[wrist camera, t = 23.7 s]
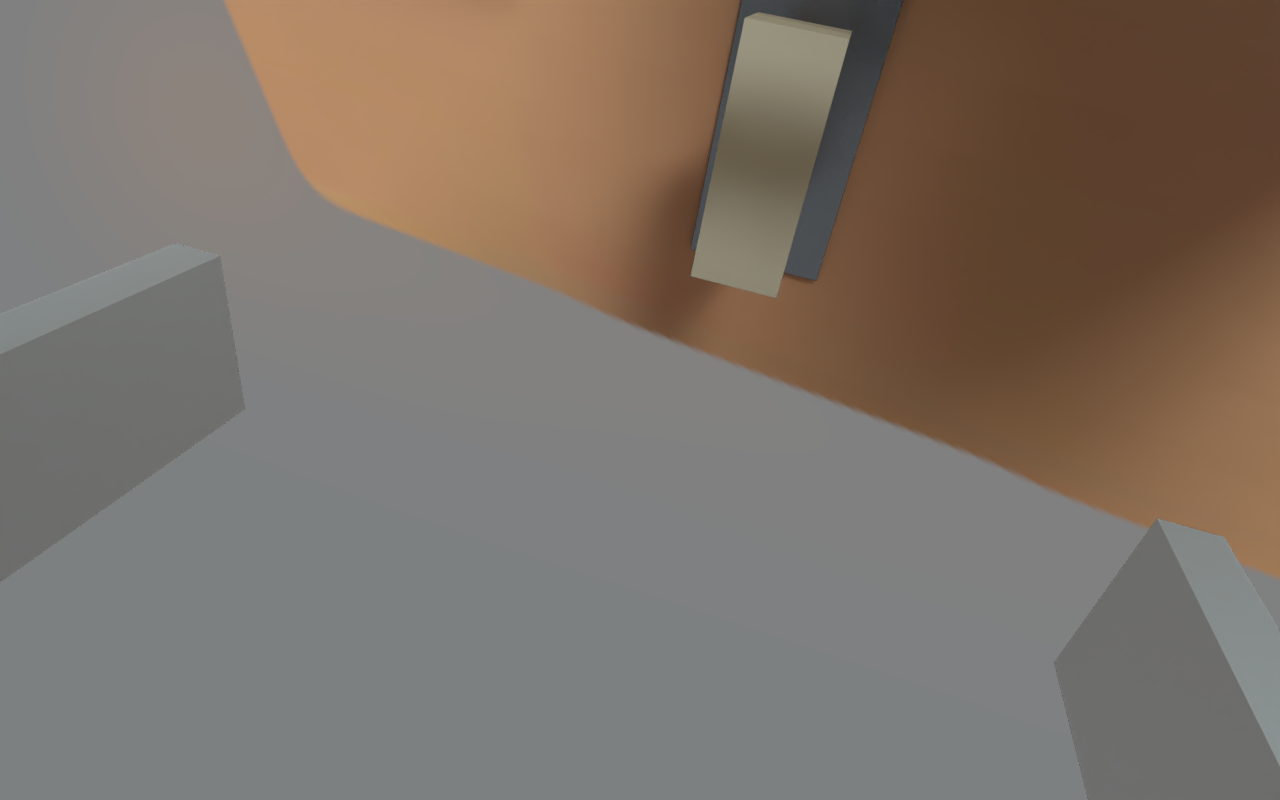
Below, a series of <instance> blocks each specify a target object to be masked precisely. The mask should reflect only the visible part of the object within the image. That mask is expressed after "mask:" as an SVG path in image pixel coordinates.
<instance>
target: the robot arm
mask: <svg viewBox="0 0 1280 800" xmlns="http://www.w3.org/2000/svg"><path fill="white" fill-rule="evenodd" d="M243 410H245V405H244V398H243V392H242V386H241V380H240V374H239V368H238V362H237V356H236V349H235V344H234V338H233V331H232V325H231V319H230V313H229V307H228V301H227V294H226V289H225V282H224V276H223V270H222V264H221V259H220V256H219V255H216V254H212V253H209V252H205V251H201V250H198V249H194V248H191V247H187V246H184V245H180V244H176V243H175V244H173V245H170V246H168V247H165V248H163V249H160V250H158V251H155V252H153V253H150V254H148V255H145V256H143V257H140V258H138V259H135V260H133V261H130V262H128V263H125V264H123V265H120V266H118V267H115V268H113V269H110V270H108V271H106V272H103V273H101V274H98V275H95V276H93V277H90V278H88V279H85V280H83V281H81V282H78V283H76V284H73V285H71V286H68V287H66V288H63V289H61V290H58V291H56V292H53V293H51V294H48V295H46V296H43V297H41V298H38V299H36V300H33V301H31V302H28V303H26V304H23V305H21V306H18V307H16V308H13V309H11V310H9V311H6V312H3V313H1V314H0V582H1V581H3V580H4V579H6V578H7V577H8V576H10V575H11V574H13V573H14V572H15V571H17V570H18V569H20V568H21V567H22V566H24V565H25V564H27V563H28V562H30V561H31V560H33V559H34V558H35V557H37V556H38V555H40V554H41V553H42V552H44V551H45V550H47V549H48V548H49V547H51V546H52V545H53V544H55V543H57V542H58V541H59V540H61V539H62V538H64V537H65V536H66V535H68V534H69V533H71V532H72V531H74V530H75V529H76V528H78V527H79V526H81V525H82V524H83V523H85V522H86V521H88V520H89V519H91V518H92V517H93V516H95V515H96V514H98V513H99V512H100V511H102V510H103V509H105V508H106V507H107V506H109V505H110V504H112V503H113V502H115V501H116V500H117V499H119V498H120V497H121V496H123V495H124V494H126V493H127V492H129V491H130V490H132V489H133V488H134V487H136V486H137V485H139V484H140V483H141V482H143V481H144V480H146V479H147V478H149V477H150V476H151V475H153V474H154V473H156V472H157V471H158V470H160V469H161V468H163V467H164V466H165V465H167V464H168V463H170V462H171V461H173V460H174V459H175V458H177V457H178V456H180V455H181V454H182V453H184V452H185V451H187V450H188V449H190V448H191V447H192V446H194V445H195V444H196V443H198V442H199V441H201V440H202V439H204V438H205V437H207V436H208V435H209V434H211V433H212V432H214V431H215V430H216V429H218V428H219V427H221V426H222V425H223V424H225V423H226V422H228V421H229V420H230V419H232V418H233V417H235V416H236V415H238V414H239V413H240V412H242V411H243ZM1054 664H1055V668H1056V672H1057V677H1058V681H1059V685H1060V689H1061V693H1062V697H1063V701H1064V705H1065V708H1066V713H1067V717H1068V721H1069V725H1070V729H1071V733H1072V737H1073V741H1074V745H1075V750H1076V753H1077V758H1078V762H1079V766H1080V770H1081V774H1082V778H1083V782H1084V786H1085V790H1086V794H1087V798H1088V800H1280V630H1279V628H1278V627H1277V625H1276V623H1275V622H1274V620H1273V618H1272V617H1271V615H1270V613H1269V612H1268V610H1267V608H1266V606H1265V605H1264V603H1263V601H1262V600H1261V598H1260V597H1259V595H1258V593H1257V591H1256V590H1255V588H1254V586H1253V585H1252V583H1251V581H1250V580H1249V578H1248V576H1247V575H1246V573H1245V571H1244V569H1243V568H1242V566H1241V564H1240V563H1239V561H1238V559H1237V558H1236V556H1235V554H1234V553H1233V551H1232V549H1231V548H1230V546H1229V544H1228V543H1227V541H1226V539H1225V538H1224V537H1222V536H1218V535H1215V534H1211V533H1208V532H1204V531H1200V530H1197V529H1193V528H1190V527H1186V526H1183V525H1179V524H1175V523H1172V522H1168V521H1165V520H1161V519H1158V518H1157V519H1156V521H1155V522H1154V523H1153V525H1152V526H1151V528H1150V529H1149V530H1148V532H1147V533H1146V535H1145V536H1144V538H1143V539H1142V540H1141V542H1140V543H1139V544H1138V546H1137V547H1136V549H1135V550H1134V552H1133V553H1132V554H1131V556H1130V557H1129V558H1128V560H1127V561H1126V563H1125V564H1124V566H1123V567H1122V568H1121V570H1120V571H1119V573H1118V574H1117V575H1116V577H1115V578H1114V580H1113V581H1112V582H1111V584H1110V585H1109V586H1108V588H1107V589H1106V591H1105V592H1104V593H1103V595H1102V596H1101V598H1100V599H1099V600H1098V602H1097V603H1096V605H1095V606H1094V607H1093V609H1092V610H1091V612H1090V613H1089V615H1088V616H1087V617H1086V619H1085V620H1084V621H1083V623H1082V624H1081V626H1080V627H1079V629H1078V630H1077V631H1076V633H1075V634H1074V636H1073V637H1072V638H1071V640H1070V641H1069V642H1068V644H1067V645H1066V647H1065V648H1064V650H1063V651H1062V652H1061V654H1060V655H1059V657H1058V658H1057V659H1056V661H1055V662H1054Z"/></svg>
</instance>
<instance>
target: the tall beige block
mask: <svg viewBox="0 0 1280 800" xmlns="http://www.w3.org/2000/svg"><path fill="white" fill-rule="evenodd" d="M902 3H903V0H742V2H741V7H740V12H739V16H738V21H737V26H736V31H735V36H734V41H733V46H732V50H731V55H730V60H729V65H728V70H727V75H726V80H725V85H724V89H723V94H722V99H721V104H720V109H719V114H718V119H717V123H716V128H715V133H714V138H713V143H712V148H711V153H710V157H709V162H708V167H707V172H706V177H705V182H704V187H703V192H702V196H701V201H700V206H699V211H698V216H697V221H696V226H695V230H694V235H693V240H692V245H691V249H692V250H696V253H695V258H694V262H693V267H692V272H691V276H692V277H696V278H699V279H703V280H707V281H711V282H715V283H719V284H723V285H727V286H731V287H735V288H738V289H742V290H746V291H750V292H754V293H758V294H762V295H766V296H770V297H773V298H777V294H778V291H779V287H780V284H781V281H782V277H783V274H784V273H787V274H791V275H795V276H799V277H803V278H807V279H811V280H815V281H816V280H817V277H818V274H819V271H820V267H821V264H822V261H823V258H824V254H825V251H826V248H827V245H828V242H829V238H830V235H831V232H832V229H833V225H834V222H835V219H836V216H837V213H838V209H839V206H840V203H841V200H842V196H843V193H844V190H845V187H846V183H847V180H848V177H849V174H850V171H851V167H852V164H853V161H854V158H855V154H856V151H857V148H858V145H859V142H860V138H861V135H862V132H863V129H864V125H865V122H866V119H867V116H868V112H869V109H870V106H871V103H872V100H873V96H874V93H875V90H876V87H877V83H878V80H879V77H880V74H881V70H882V67H883V64H884V61H885V58H886V54H887V51H888V48H889V45H890V41H891V38H892V35H893V32H894V29H895V25H896V22H897V19H898V16H899V12H900V9H901V6H902Z"/></svg>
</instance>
